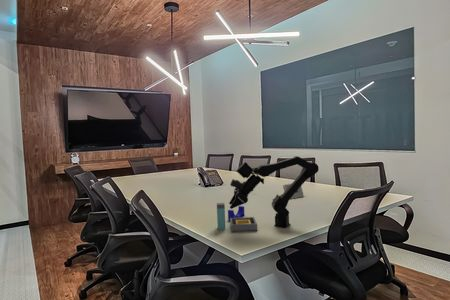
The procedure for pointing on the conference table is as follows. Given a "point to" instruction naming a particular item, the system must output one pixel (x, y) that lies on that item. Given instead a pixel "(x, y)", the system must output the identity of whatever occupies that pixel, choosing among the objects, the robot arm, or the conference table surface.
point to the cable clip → (239, 213)
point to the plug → (221, 216)
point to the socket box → (243, 224)
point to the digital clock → (297, 194)
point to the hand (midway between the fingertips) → (229, 206)
